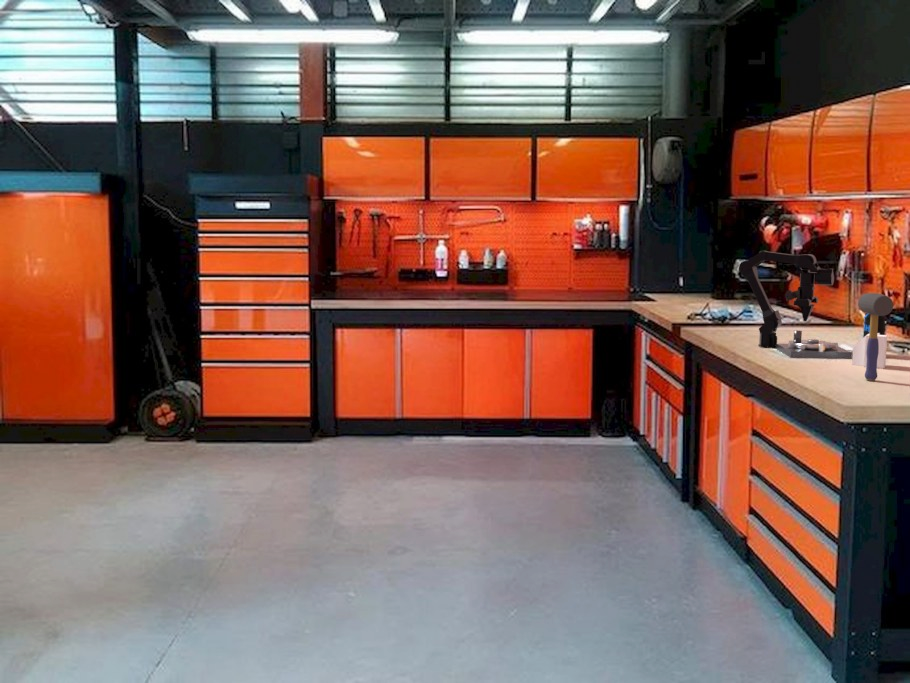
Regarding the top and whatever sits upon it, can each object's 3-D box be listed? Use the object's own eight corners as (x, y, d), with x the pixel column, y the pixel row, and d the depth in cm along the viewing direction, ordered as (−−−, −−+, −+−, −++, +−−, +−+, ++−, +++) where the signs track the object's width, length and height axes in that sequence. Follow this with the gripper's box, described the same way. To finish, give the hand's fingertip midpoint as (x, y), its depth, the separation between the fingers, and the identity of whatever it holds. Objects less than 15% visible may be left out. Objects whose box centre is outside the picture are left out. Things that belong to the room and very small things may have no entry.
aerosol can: (882, 355, 385) (885, 306, 382) (884, 358, 377) (887, 308, 375) (860, 354, 387) (863, 305, 385) (862, 357, 380) (865, 307, 377)
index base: (790, 357, 378) (791, 343, 377) (775, 349, 401) (776, 336, 400) (851, 358, 376) (852, 344, 375) (833, 350, 399) (834, 337, 398)
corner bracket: (883, 368, 350) (885, 336, 348) (850, 366, 356) (852, 334, 354) (887, 365, 359) (889, 333, 357) (855, 362, 365) (857, 331, 363)
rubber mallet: (851, 377, 330) (856, 291, 326) (872, 377, 330) (878, 291, 326) (868, 383, 318) (873, 294, 314) (890, 383, 318) (896, 294, 314)
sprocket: (827, 343, 398) (827, 328, 397) (847, 350, 378) (848, 333, 377) (780, 343, 398) (780, 328, 397) (797, 350, 378) (798, 333, 377)
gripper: (792, 282, 410) (790, 318, 412) (781, 284, 394) (780, 322, 396) (819, 283, 404) (817, 319, 406) (809, 285, 388) (807, 323, 390)
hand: (805, 321), depth 400 cm, fingers closed
